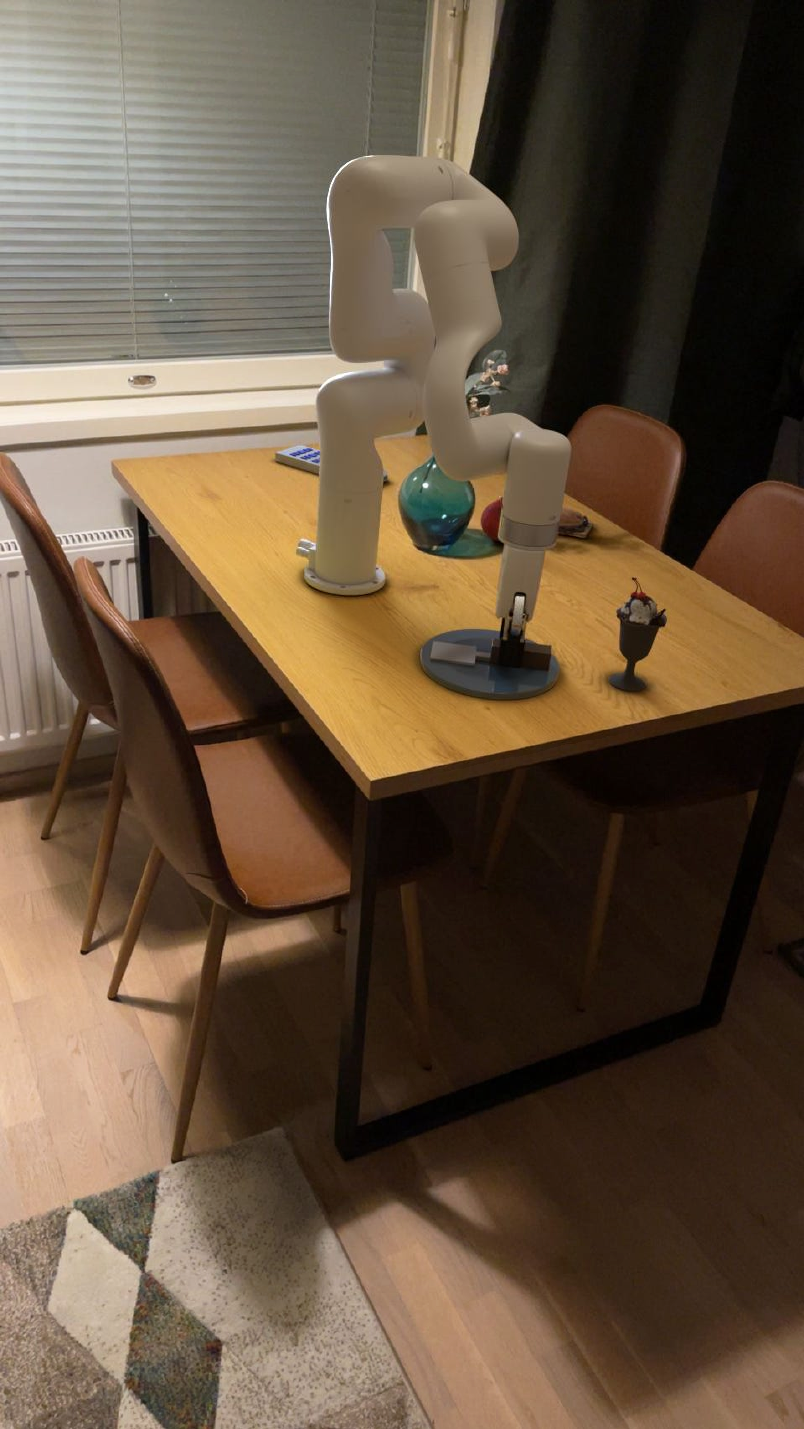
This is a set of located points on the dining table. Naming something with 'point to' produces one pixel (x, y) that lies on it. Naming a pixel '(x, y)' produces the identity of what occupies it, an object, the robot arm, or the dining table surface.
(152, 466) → the dining table surface
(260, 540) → the dining table surface
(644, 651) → the sundae
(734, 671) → the dining table surface
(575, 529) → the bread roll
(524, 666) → the spatula
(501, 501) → the onion
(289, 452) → the remote control
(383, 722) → the dining table surface
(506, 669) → the plate
